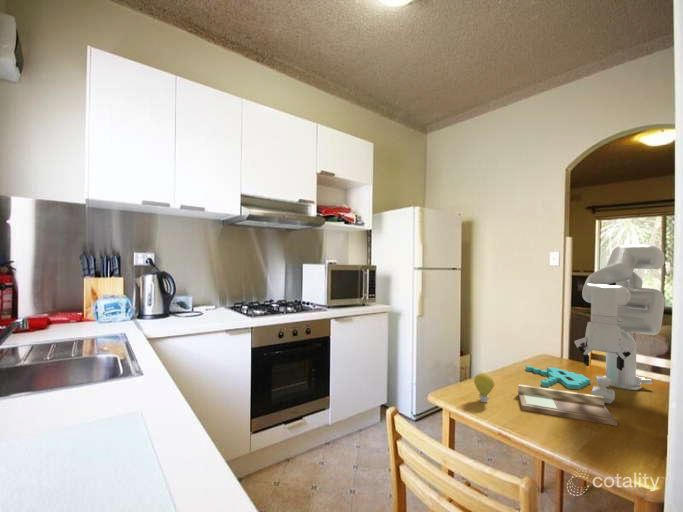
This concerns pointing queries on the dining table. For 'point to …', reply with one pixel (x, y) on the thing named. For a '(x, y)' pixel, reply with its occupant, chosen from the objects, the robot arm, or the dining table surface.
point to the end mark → (539, 400)
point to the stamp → (603, 389)
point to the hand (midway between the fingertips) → (602, 367)
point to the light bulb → (484, 385)
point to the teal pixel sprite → (561, 377)
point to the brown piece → (569, 404)
